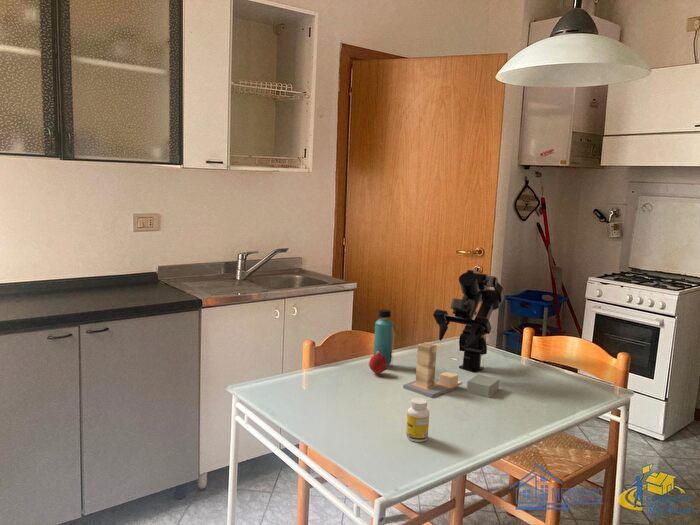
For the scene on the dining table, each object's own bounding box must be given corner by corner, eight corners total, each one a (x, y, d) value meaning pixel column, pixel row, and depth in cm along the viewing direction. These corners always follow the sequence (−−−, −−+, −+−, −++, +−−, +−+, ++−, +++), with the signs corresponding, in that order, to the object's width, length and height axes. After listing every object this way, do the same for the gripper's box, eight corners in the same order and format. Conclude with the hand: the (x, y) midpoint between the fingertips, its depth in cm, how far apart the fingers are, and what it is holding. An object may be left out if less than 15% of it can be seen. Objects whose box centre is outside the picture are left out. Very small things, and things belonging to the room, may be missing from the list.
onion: (386, 372, 196) (387, 349, 195) (385, 378, 191) (387, 354, 190) (369, 371, 197) (370, 348, 196) (367, 376, 191) (369, 353, 190)
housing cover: (477, 384, 189) (478, 374, 188) (498, 389, 185) (499, 379, 185) (466, 392, 181) (467, 381, 181) (488, 397, 178) (489, 386, 177)
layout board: (431, 378, 193) (432, 366, 193) (461, 387, 185) (462, 375, 185) (403, 387, 182) (404, 375, 182) (433, 398, 175) (434, 385, 174)
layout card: (444, 377, 195) (444, 375, 195) (462, 382, 190) (462, 381, 190) (435, 380, 191) (435, 378, 191) (453, 385, 187) (453, 384, 187)
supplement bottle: (404, 433, 149) (406, 396, 147) (425, 433, 149) (427, 396, 148) (408, 442, 143) (410, 404, 142) (429, 442, 144) (432, 404, 143)
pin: (422, 381, 186) (425, 342, 184) (434, 385, 183) (437, 344, 181) (415, 384, 182) (418, 344, 181) (426, 388, 180) (429, 347, 178)
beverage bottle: (391, 369, 200) (395, 312, 197) (372, 368, 200) (375, 311, 197) (390, 364, 206) (394, 308, 204) (372, 363, 206) (375, 307, 204)
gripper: (437, 285, 194) (420, 323, 187) (491, 293, 184) (475, 333, 177) (445, 305, 202) (429, 342, 194) (497, 314, 192) (482, 353, 184)
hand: (452, 342), depth 187 cm, fingers open, 9 cm apart
